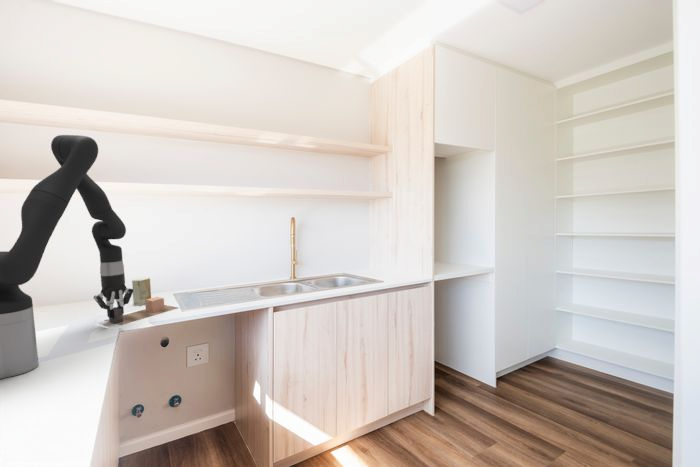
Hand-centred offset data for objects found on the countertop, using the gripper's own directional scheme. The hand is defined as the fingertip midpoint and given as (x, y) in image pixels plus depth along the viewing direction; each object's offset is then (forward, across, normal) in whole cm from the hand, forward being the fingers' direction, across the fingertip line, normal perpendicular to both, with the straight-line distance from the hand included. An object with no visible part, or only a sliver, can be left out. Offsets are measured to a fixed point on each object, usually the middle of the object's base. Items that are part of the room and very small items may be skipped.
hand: (116, 317), depth 134 cm
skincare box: (+3, +20, +16) cm, 25 cm away
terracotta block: (+2, +16, 0) cm, 16 cm away
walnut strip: (+3, +10, 0) cm, 11 cm away
